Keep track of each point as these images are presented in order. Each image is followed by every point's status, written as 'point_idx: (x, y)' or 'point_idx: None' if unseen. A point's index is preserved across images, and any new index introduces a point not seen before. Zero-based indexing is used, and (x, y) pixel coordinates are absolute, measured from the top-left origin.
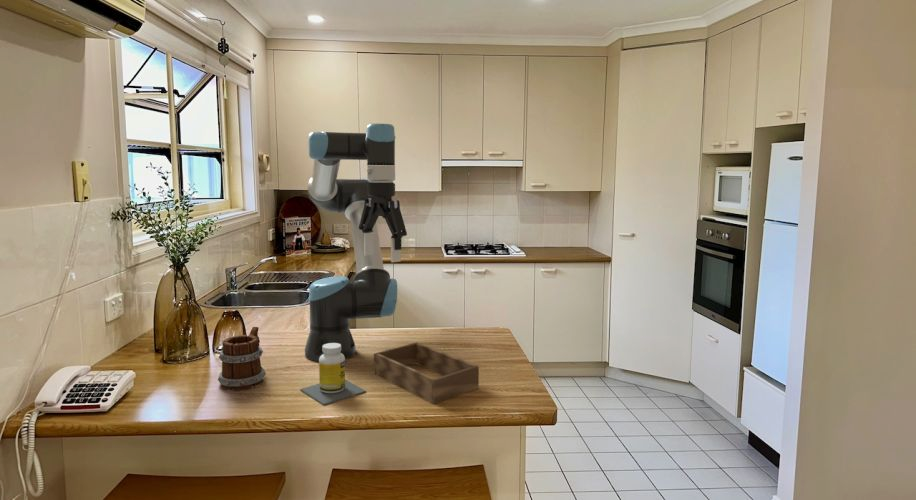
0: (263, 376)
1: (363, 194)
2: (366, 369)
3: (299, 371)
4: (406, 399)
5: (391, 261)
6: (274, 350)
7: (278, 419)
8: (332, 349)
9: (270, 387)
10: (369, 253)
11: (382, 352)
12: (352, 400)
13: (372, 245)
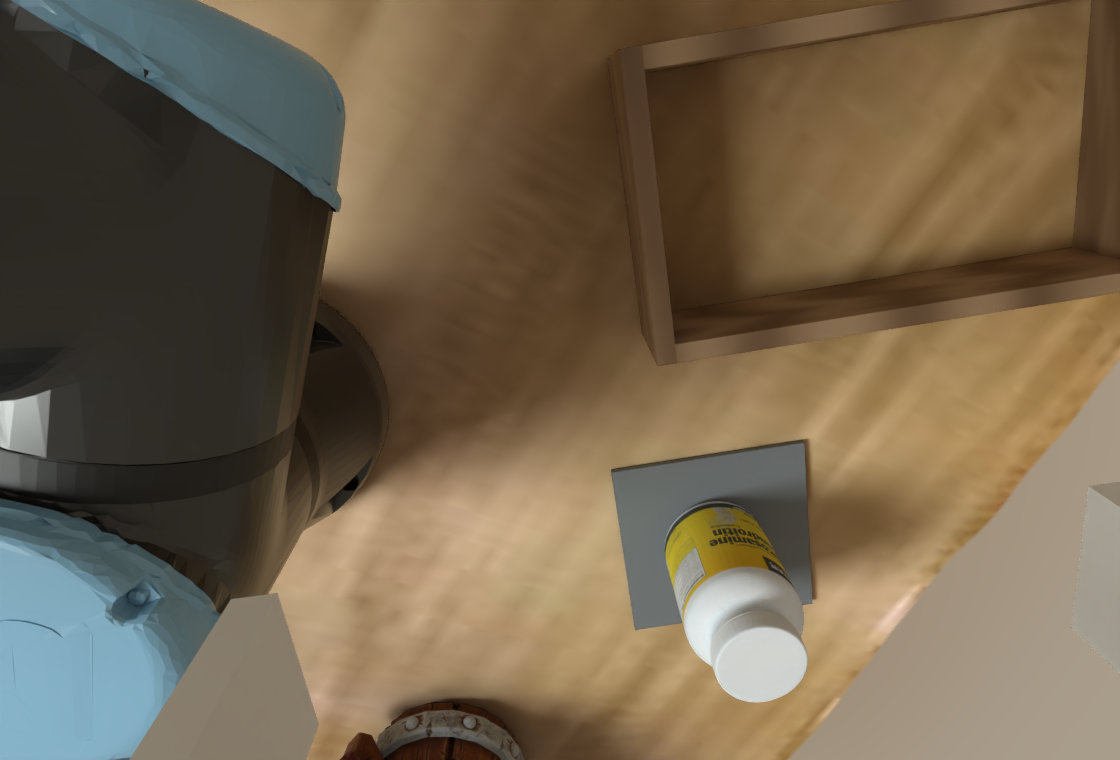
0: (487, 724)
1: None
2: (563, 337)
3: (435, 579)
4: (968, 334)
5: (1088, 631)
6: None
7: (815, 728)
8: (803, 672)
9: (546, 696)
10: (286, 687)
11: (670, 321)
12: (836, 507)
13: (212, 752)
